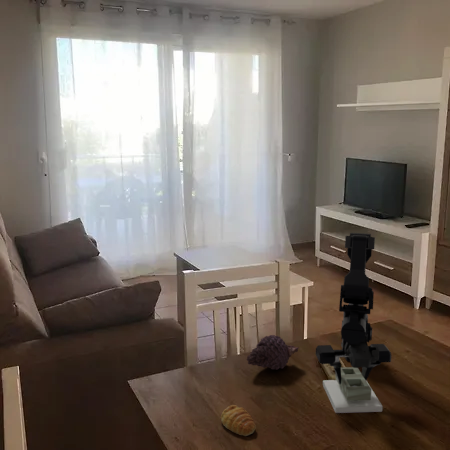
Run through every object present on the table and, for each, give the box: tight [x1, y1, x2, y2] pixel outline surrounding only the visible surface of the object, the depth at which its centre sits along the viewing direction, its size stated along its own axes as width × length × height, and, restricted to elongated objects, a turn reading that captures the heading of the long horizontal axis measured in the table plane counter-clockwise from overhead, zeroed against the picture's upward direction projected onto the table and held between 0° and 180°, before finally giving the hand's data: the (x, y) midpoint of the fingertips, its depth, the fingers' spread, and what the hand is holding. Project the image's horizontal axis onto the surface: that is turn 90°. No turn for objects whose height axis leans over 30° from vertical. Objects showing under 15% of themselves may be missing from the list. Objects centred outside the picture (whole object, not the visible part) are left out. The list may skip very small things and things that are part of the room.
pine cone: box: [246, 334, 300, 370], centre depth 154 cm, size 18×10×10 cm, turn 120°
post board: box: [322, 379, 384, 414], centre depth 138 cm, size 14×12×5 cm
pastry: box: [220, 404, 257, 437], centre depth 126 cm, size 9×7×4 cm
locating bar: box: [334, 366, 372, 401], centre depth 137 cm, size 12×6×3 cm, turn 3°
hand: (351, 383), depth 138 cm, fingers closed on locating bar, 6 cm apart
